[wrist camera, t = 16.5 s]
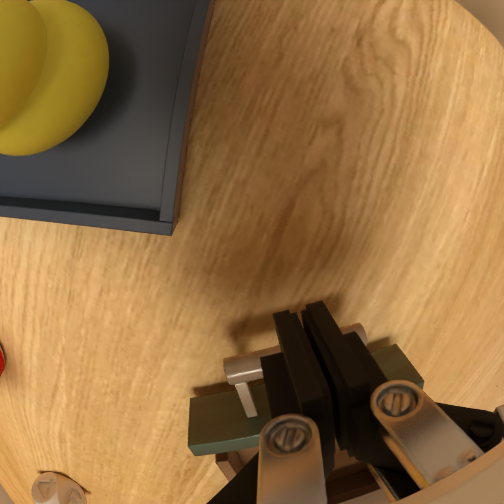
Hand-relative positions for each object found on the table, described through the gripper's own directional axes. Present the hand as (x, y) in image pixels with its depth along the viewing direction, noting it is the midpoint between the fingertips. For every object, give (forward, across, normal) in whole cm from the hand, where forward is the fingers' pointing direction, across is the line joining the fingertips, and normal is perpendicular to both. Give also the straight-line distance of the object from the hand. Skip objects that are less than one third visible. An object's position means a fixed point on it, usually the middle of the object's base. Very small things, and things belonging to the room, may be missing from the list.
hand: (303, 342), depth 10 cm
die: (+7, +29, +21) cm, 36 cm away
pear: (+6, +8, -12) cm, 15 cm away
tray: (+6, +8, -12) cm, 16 cm away
